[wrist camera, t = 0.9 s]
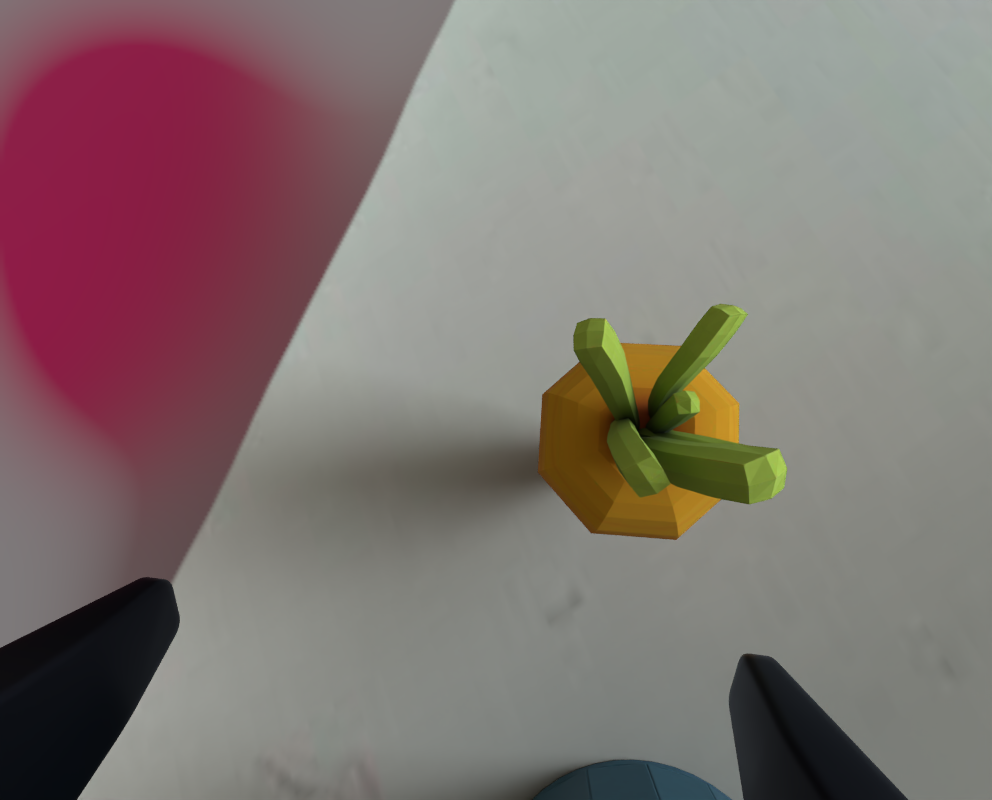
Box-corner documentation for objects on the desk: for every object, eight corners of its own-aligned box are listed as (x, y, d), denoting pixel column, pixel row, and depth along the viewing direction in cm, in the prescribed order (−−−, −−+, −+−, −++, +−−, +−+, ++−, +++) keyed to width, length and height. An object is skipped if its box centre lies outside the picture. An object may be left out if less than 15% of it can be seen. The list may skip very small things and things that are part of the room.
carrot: (519, 418, 24) (485, 320, 9) (631, 380, 24) (782, 216, 9) (559, 533, 23) (591, 629, 8) (675, 494, 23) (919, 522, 8)
